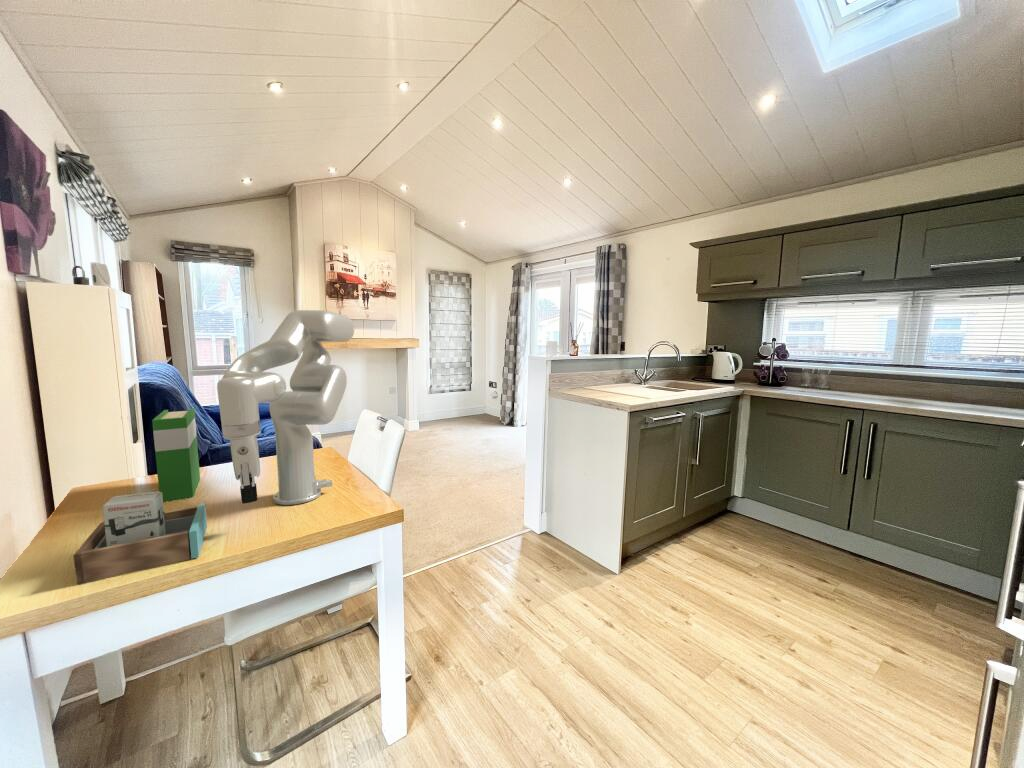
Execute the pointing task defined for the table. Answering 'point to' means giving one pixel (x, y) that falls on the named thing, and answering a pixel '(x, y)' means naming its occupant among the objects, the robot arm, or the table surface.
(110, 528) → the ink box
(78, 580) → the storage unit
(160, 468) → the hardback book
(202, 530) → the tray
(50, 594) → the table surface
